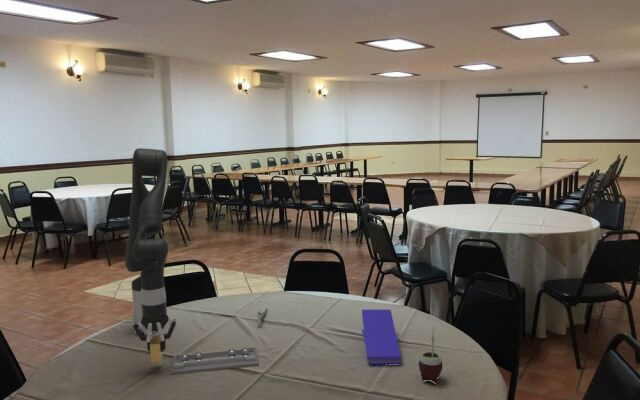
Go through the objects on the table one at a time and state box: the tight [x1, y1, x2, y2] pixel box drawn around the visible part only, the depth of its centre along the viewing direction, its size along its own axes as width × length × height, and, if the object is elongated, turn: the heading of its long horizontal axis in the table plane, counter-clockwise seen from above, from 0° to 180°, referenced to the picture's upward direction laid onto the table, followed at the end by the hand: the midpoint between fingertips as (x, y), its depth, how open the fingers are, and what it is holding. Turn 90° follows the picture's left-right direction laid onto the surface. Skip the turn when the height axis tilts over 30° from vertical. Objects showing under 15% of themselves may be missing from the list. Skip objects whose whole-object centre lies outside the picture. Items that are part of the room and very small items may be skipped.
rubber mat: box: [170, 347, 260, 376], centre depth 173 cm, size 28×12×1 cm, turn 101°
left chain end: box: [174, 350, 216, 369], centre depth 171 cm, size 13×8×3 cm, turn 101°
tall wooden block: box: [149, 334, 164, 363], centre depth 166 cm, size 3×7×6 cm, turn 11°
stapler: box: [361, 309, 401, 366], centre depth 181 cm, size 12×28×10 cm, turn 1°
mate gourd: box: [418, 326, 444, 383], centre depth 158 cm, size 8×8×15 cm
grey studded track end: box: [214, 346, 255, 364], centre depth 174 cm, size 13×8×3 cm, turn 101°
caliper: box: [257, 307, 269, 328], centre depth 210 cm, size 20×1×6 cm, turn 178°
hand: (156, 351), depth 167 cm, fingers closed on tall wooden block, 3 cm apart
